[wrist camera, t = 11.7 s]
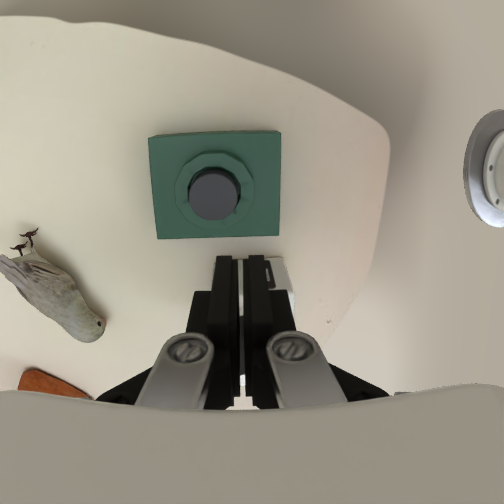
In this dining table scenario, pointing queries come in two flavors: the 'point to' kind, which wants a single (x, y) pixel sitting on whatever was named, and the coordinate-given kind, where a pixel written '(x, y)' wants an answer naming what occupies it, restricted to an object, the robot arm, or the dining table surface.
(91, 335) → the decorative bird
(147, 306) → the dining table surface
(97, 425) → the robot arm
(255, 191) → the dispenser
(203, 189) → the dark grey push button
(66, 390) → the bread
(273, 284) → the container
